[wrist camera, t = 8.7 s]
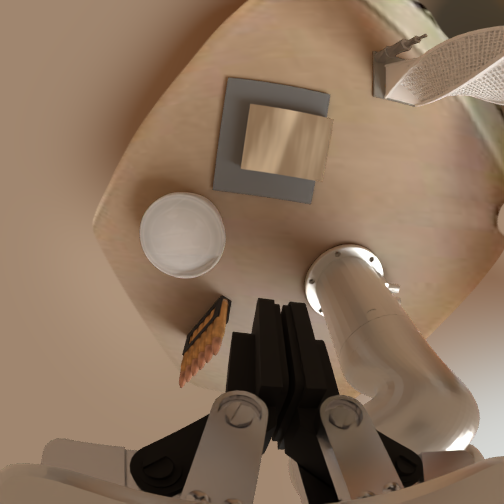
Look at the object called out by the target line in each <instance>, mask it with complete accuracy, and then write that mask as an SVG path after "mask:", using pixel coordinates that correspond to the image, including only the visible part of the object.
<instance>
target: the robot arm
mask: <svg viewBox="0 0 504 504" xmlns="http://www.w3.org/2000/svg"><path fill="white" fill-rule="evenodd" d="M337 251H338V252H337ZM336 252H337V253H336ZM310 279H312V280H310ZM399 289H400V287H399V285H398V284H388V283H387V281H386V280H385V279H384V273H383V268H382V265H381V263H380V261H379V260H378V258H377V257H376V256H375V255H374V254H373V253H372V252H371V251H370V250H368V249H367V248H365V247H362V246H360V245H354V244H346V245H340V246H336V247H334V248H332V249H329V250H328V251H326V252H324V253H323V254H322V255H320V256H319V257H318V258H317V259H316V260H315V261H314V263H313V264H312V265H311V267H310V269H309V271H308V273H307V276H306V279H305V294H306V297H307V300H308V302H309V304H310V306H311V307H312V308H313V310H314V311H316V312H317V313H318V314H320V315H322V316H324V318H325V321H326V324H327V327H328V330H329V333H330V336H331V339H332V342H333V345H334V348H335V351H336V354H337V357H338V360H339V363H340V366H341V369H342V372H343V375H344V377H345V379H346V380H347V382H348V383H349V384H350V385H351V386H352V387H353V388H354V389H355V390H357V391H358V392H360V393H362V394H364V395H366V396H369V397H371V398H373V399H372V400H370V401H369V402H367V403H366V404H364V405H362V404H361V403H360V402H359V401H358V400H356V399H354V398H352V397H349V396H345V395H339V392H338V388H337V384H336V381H335V377H334V373H333V370H332V366H331V363H330V359H329V356H328V352H327V349H326V346H325V343H324V341H323V340H315V337H314V333H313V329H312V326H311V322H310V318H309V314H308V311H307V307H306V304H305V303H297V302H289V304H288V305H283V307H282V311H281V312H280V305H279V304H274V300H271V299H262V298H258V301H257V306H256V311H255V317H254V322H253V327H252V333H251V334H248V333H239V332H233V333H232V340H231V348H230V355H229V364H228V373H227V383H226V393H224V394H222V395H220V396H219V397H218V398H217V399H216V400H215V402H214V403H213V406H212V409H211V411H210V414H208V415H207V416H205V417H203V418H201V419H199V420H197V421H196V422H194V423H192V424H190V425H188V426H186V427H184V428H182V429H180V430H178V431H177V432H174V433H172V434H171V435H168V436H166V437H164V438H163V439H160V440H158V441H156V442H154V443H152V444H150V445H148V446H145V447H143V448H142V449H140V450H138V451H137V450H126V449H125V447H118V446H108V445H100V444H93V443H86V442H80V441H74V440H69V439H59V438H58V439H54V440H52V441H50V442H49V443H48V444H47V445H46V446H45V448H44V451H43V455H42V461H41V464H29V463H25V464H24V463H23V464H12V465H9V466H6V467H5V468H3V469H2V470H0V504H253V500H254V495H255V489H256V484H257V479H258V474H259V468H260V463H261V457H262V454H264V452H265V451H266V449H267V446H268V444H269V442H270V440H271V437H272V440H273V441H277V442H278V449H285V454H287V455H288V456H289V463H288V468H289V475H290V478H291V481H292V483H293V486H294V488H295V489H296V491H297V493H298V495H299V496H300V499H301V502H302V504H504V456H501V457H493V458H488V459H484V457H483V456H482V454H481V453H480V451H479V450H478V449H477V448H475V447H474V446H473V445H470V442H471V441H472V439H473V438H474V436H475V434H476V432H477V429H478V426H479V418H480V417H479V410H478V406H477V403H476V401H475V399H474V397H473V396H472V394H471V392H470V391H469V389H468V388H467V387H466V386H465V384H464V383H463V382H462V381H461V380H460V379H459V378H458V377H457V376H456V375H455V374H454V373H453V372H452V371H451V370H450V369H449V368H448V367H447V365H446V364H445V363H444V362H443V361H442V360H441V359H440V358H439V356H438V355H437V354H436V353H435V352H434V350H433V349H432V348H431V347H430V345H429V344H428V343H427V341H426V340H425V338H424V337H423V336H422V334H421V333H420V331H419V330H418V329H417V327H416V326H415V324H414V323H413V322H412V320H411V319H410V317H409V316H408V314H407V313H406V312H405V310H404V309H403V308H402V306H401V299H400V298H399V297H394V295H393V294H392V293H398V292H399Z"/></svg>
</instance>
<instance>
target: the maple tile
mask: <svg viewBox="0 0 504 504" xmlns="http://www.w3.org/2000/svg"><path fill="white" fill-rule="evenodd" d="M333 120H334V119H330V118H326V117H322V116H317V115H312V114H308V113H303V112H298V111H292V110H287V109H281V108H275V107H269V106H262V105H255V104H250V109H249V116H248V122H247V129H246V136H245V143H244V150H243V156H242V163H241V169H246V170H253V171H260V172H267V173H273V174H279V175H286V176H291V177H297V178H303V179H308V180H314V181H319V182H322V181H323V176H324V171H325V166H326V160H327V155H328V149H329V143H330V138H331V132H332V126H333Z"/></svg>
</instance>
